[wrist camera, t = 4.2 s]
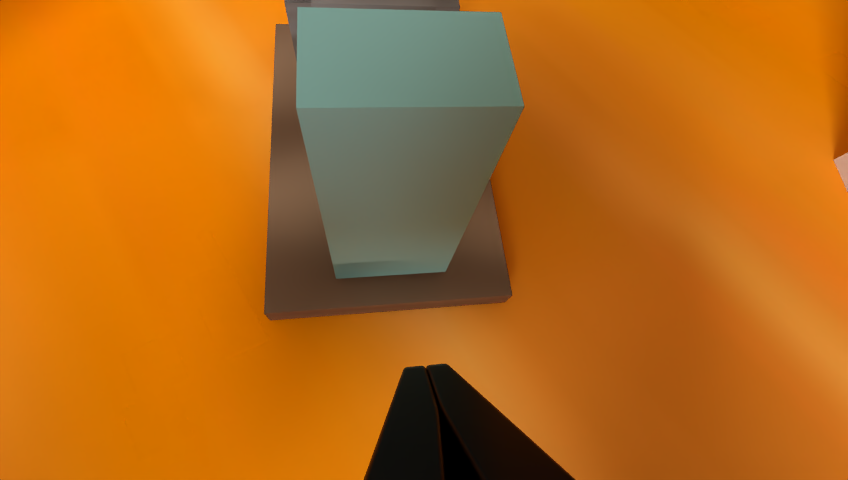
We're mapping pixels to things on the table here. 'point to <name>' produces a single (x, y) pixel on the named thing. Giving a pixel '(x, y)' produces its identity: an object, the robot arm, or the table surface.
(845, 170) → the milk
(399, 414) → the robot arm
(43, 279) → the table surface
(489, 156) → the teal block
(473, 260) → the bracket
